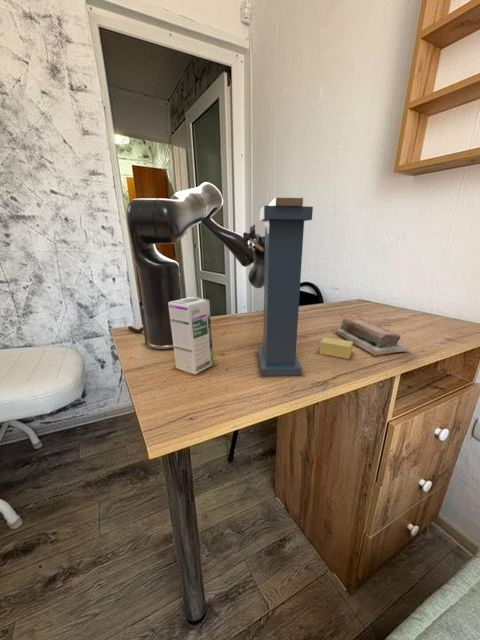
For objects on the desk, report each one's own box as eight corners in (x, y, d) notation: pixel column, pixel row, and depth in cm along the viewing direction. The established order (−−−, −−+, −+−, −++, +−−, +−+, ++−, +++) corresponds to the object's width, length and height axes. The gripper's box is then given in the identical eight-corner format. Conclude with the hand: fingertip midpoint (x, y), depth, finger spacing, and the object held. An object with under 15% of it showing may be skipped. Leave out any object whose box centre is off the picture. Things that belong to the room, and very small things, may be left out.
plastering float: (335, 317, 83) (365, 314, 86) (333, 333, 85) (363, 330, 88) (377, 337, 67) (412, 333, 70) (374, 357, 69) (408, 352, 72)
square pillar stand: (261, 376, 59) (264, 205, 48) (258, 353, 70) (259, 210, 59) (300, 375, 60) (313, 206, 48) (291, 352, 71) (299, 211, 59)
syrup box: (195, 375, 59) (189, 304, 54) (174, 368, 62) (167, 300, 56) (214, 365, 63) (210, 299, 58) (194, 359, 66) (189, 295, 61)
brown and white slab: (275, 205, 47) (276, 192, 46) (264, 213, 69) (264, 205, 69) (302, 206, 47) (303, 193, 47) (283, 214, 70) (283, 205, 69)
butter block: (319, 353, 71) (320, 341, 70) (323, 348, 74) (324, 336, 73) (348, 359, 68) (350, 347, 67) (351, 353, 71) (353, 341, 70)
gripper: (243, 244, 95) (243, 214, 79) (286, 244, 96) (295, 215, 80) (243, 266, 94) (243, 240, 78) (287, 266, 95) (296, 241, 79)
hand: (269, 228), depth 79 cm, fingers open, 8 cm apart
